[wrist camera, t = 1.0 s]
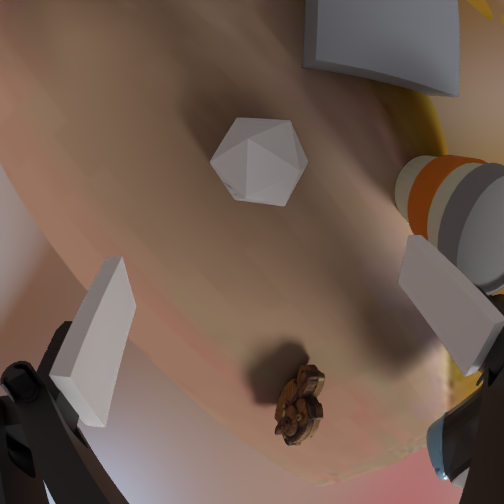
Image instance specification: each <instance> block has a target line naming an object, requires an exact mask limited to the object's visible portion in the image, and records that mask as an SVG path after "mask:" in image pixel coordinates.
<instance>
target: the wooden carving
mask: <svg viewBox="0 0 504 504" xmlns="http://www.w3.org/2000/svg"><path fill="white" fill-rule="evenodd" d="M324 381H325V375H324V374H323V373H321V372H320V371H319V370H318V369H317V367H316V366H315V365H301V366H300V368H299V372H298V375H297V379H292V380H290V381H289V382H288V383H287V384H286V386H285V387H284V389H283V391H282V393H281V395H280V397H279V399H278V403H277V407H276V413H275V419H276V420H277V422H278V425H277V426H276V428H275V434H276V435H279V434H282V435H283V438H284V441H285V443H286V444H287V445H288V446H290V445H296V446H297V445H300V444H301V442H305V441H307V440H309V439H311V438H312V437H313V436H314V434H315V433H316V431H317V429H318V426H319V423H320V420H321V419H323V408H322V405H321V403H319V402H318V400H317V398H316V397H317V396H318V395H319V394H320V392H321V391H322V389H323V386H324Z"/></svg>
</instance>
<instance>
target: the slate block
mask: <svg viewBox="0 0 504 504" xmlns="http://www.w3.org/2000/svg"><path fill="white" fill-rule="evenodd" d="M302 68H310V69H317V70H324V71H330V72H336V73H341V74H347V75H352V76H357V77H362V78H366V79H371V80H375V81H380V82H384V83H388V84H392V85H396V86H399V87H403V88H407V89H410V90H414V91H417V92H420V93H424V94H427V95H428V96H448V97H458V94H459V76H460V75H459V74H460V32H459V13H458V1H457V0H306V4H305V27H304V47H303V64H302Z"/></svg>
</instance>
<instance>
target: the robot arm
mask: <svg viewBox="0 0 504 504" xmlns="http://www.w3.org/2000/svg"><path fill="white" fill-rule="evenodd" d="M398 284H399V286H400V287H401V288H402V289H403V291H404V292H405V293H406V295H407V296H408V297H409V298H410V300H411V301H412V302H413V304H414V305H415V306H416V308H417V309H418V310H419V312H420V313H421V314H422V316H423V317H424V318H425V320H426V321H427V323H428V324H429V325H430V327H431V328H432V329H433V331H434V332H435V334H436V335H437V337H438V338H439V339H440V341H441V342H442V344H443V345H444V347H445V348H446V349H447V351H448V352H449V354H450V355H451V357H452V358H453V360H454V361H455V363H456V364H457V366H458V367H459V369H460V370H461V372H462V373H463V375H464V377H466V376H468V375H471V374H473V373H475V372H477V371H480V372H481V373H482V375H481V377H480V378H479V380H478V381H477V384H476V385H477V386H478V385H479V384H480V382H481V381H482V380H483V384H482V386H481V387H479V388H478V389H477V390H476V391H475V392H473V393H472V394H471V395H470V396H468V397H467V398H466V399H465V400H463V401H462V402H461V403H459V404H458V405H457V406H455V407H454V408H452V409H451V410H450V411H448V412H446V413H444V415H443V416H442V417H441V418H439V419H438V420H437V421H435V422H434V423H433V424H432V425H431V426H430V427H429V429H428V431H427V437H426V439H427V448H428V452H429V456H430V459H431V463H432V466H433V467H434V468H435V472H436V474H437V476H438V477H439V478H440V479H441V480H448V479H450V482H451V484H452V485H454V486H459V487H462V488H463V493H462V496H461V499H460V503H459V504H504V295H503V294H498V295H494V296H492V297H488V295H487V294H486V293H485V292H484V291H483V290H482V289H481V288H480V287H479V286H477V285H475V284H474V283H472V282H471V281H470V280H469V279H468V278H467V277H466V276H465V275H464V274H463V273H462V272H461V271H460V270H459V269H458V268H457V267H456V266H454V265H453V264H452V263H451V262H450V261H449V260H448V259H447V258H446V257H445V256H444V255H443V254H442V253H441V252H439V251H438V250H437V249H436V248H435V247H434V246H433V245H432V244H431V243H430V242H428V241H427V240H426V239H425V238H424V237H423V236H422V235H410V236H408V241H407V246H406V250H405V255H404V259H403V264H402V268H401V272H400V276H399V280H398ZM135 309H136V304H135V300H134V297H133V294H132V290H131V287H130V283H129V279H128V276H127V272H126V268H125V265H124V261H123V257H122V256H120V257H107V258H106V260H105V261H104V263H103V265H102V267H101V269H100V270H99V272H98V274H97V276H96V278H95V279H94V281H93V283H92V285H91V287H90V289H89V291H88V292H87V294H86V296H85V298H84V300H83V302H82V304H81V306H80V308H79V310H78V312H77V314H76V316H75V318H74V320H73V321H65V322H64V323H63V324H62V325H61V326H60V327H59V328H58V329H57V330H56V332H55V334H54V336H53V338H52V340H51V342H50V344H49V346H48V348H47V349H48V350H46V352H45V354H44V356H43V359H42V361H41V363H40V365H39V367H38V370H37V372H36V371H35V370H34V368H33V367H32V365H31V364H30V363H28V362H26V361H18V362H15V363H13V364H11V365H10V366H9V367H7V369H6V370H5V371H4V372H3V374H2V377H1V379H0V380H1V381H0V382H1V384H0V385H1V387H2V388H3V389H4V390H5V392H6V393H7V394H8V395H7V396H0V504H49V501H48V498H47V493H46V489H45V485H44V482H45V484H46V486H47V488H48V490H49V492H50V494H51V496H52V497H53V500H54V501H55V503H56V504H129V503H128V502H127V500H126V499H125V497H124V496H123V495H122V493H121V492H120V491H119V489H118V488H117V487H116V485H115V484H114V482H113V481H112V480H111V478H110V477H109V475H108V474H107V472H106V471H105V469H104V468H103V466H102V465H101V463H100V462H99V460H98V459H97V457H96V455H95V454H94V452H93V451H92V449H91V447H90V446H89V444H88V442H87V441H86V439H85V437H84V435H83V434H82V432H81V430H80V429H79V428H78V427H77V423H78V419H79V417H80V418H81V420H82V421H83V422H84V423H85V424H86V425H88V426H96V427H106V422H107V417H108V413H109V408H110V404H111V399H112V395H113V391H114V386H115V382H116V378H117V374H118V370H119V366H120V362H121V359H122V354H123V351H124V347H125V344H126V340H127V337H128V333H129V330H130V326H131V323H132V319H133V316H134V313H135ZM43 480H44V481H43Z"/></svg>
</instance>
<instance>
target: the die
mask: <svg viewBox="0 0 504 504" xmlns="http://www.w3.org/2000/svg"><path fill="white" fill-rule="evenodd" d="M210 164H211V165H212V167H213V168H214V170H215V171H216V173H217V174H218V176H219V177H220V179H221V180H222V182H223V183H224V185H225V186H226V188H227V189H228V191H229V192H230V194H231V195H232V197H233V198H234V200H239V201H247V202H255V203H262V204H270V205H277V206H284V207H285V205H286V203H287V201H288V199H289V197H290V196H291V194H292V192H293V190H294V188H295V186H296V185H297V183H298V181H299V179H300V177H301V175H302V173H303V172H304V170H305V168H306V166H307V164H308V160H307V158H306V156H305V153H304V151H303V148H302V146H301V144H300V141H299V139H298V137H297V134H296V132H295V130H294V127H293V125H292V123H291V121H290V120H277V119H261V118H238V117H237V118H236V120H235V121H234V123H233V124H232V126H231V128H230V129H229V131H228V132H227V134H226V136H225V137H224V139H223V140H222V142H221V144H220V145H219V147H218V149H217V150H216V152H215V154H214V155H213V157H212V159H211V160H210Z"/></svg>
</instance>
